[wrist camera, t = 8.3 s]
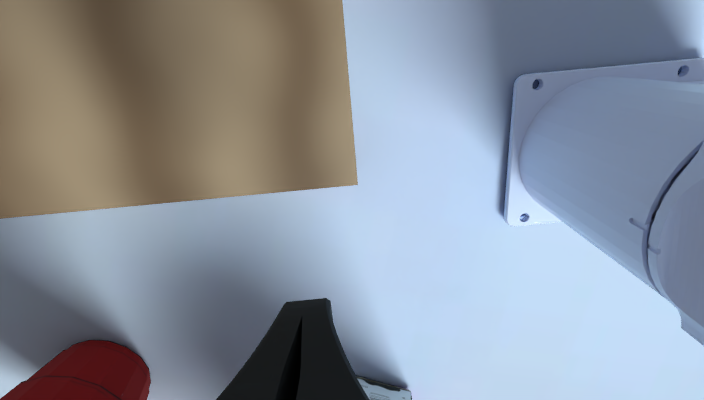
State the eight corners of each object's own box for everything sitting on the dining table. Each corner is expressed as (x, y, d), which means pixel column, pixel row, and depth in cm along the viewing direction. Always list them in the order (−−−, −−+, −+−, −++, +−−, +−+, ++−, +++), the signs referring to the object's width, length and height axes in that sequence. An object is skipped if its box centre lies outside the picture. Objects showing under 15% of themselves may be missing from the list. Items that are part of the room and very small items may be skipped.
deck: (335, -57, 16) (335, -77, 13) (355, 168, 19) (357, 184, 17) (-236, -6, 15) (-337, -16, 13) (-105, 212, 19) (-166, 234, 17)
